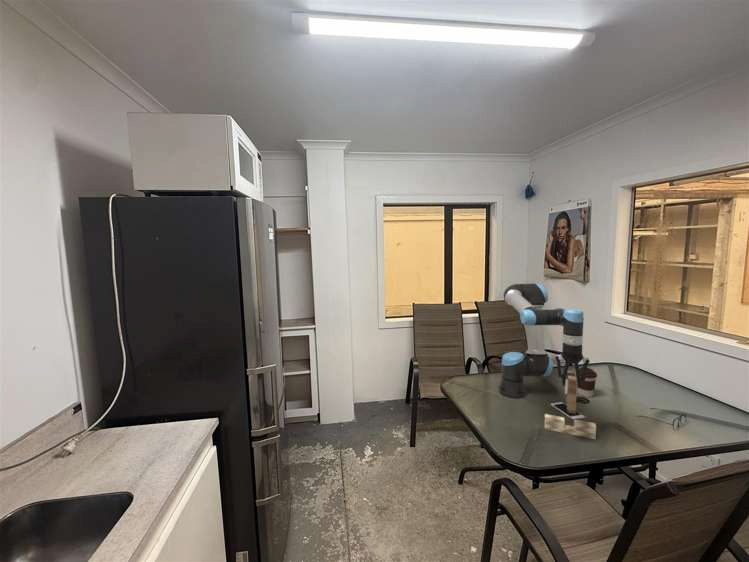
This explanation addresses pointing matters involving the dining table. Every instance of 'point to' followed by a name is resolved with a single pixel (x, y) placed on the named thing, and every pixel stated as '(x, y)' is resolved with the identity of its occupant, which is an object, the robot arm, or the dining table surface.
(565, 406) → the smartphone
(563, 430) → the beech base plate
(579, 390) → the coffee cup
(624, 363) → the dining table surface
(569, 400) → the walnut cross plate
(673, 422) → the glasses
